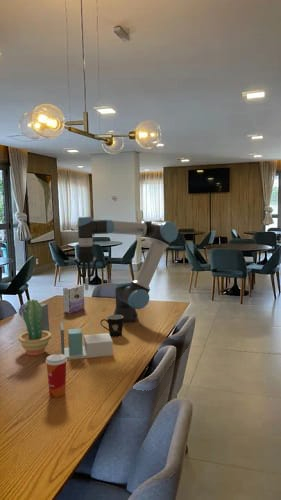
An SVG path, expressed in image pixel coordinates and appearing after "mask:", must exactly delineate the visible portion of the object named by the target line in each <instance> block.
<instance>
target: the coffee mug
mask: <svg viewBox="0 0 281 500" xmlns="http://www.w3.org/2000/svg"><path fill="white" fill-rule="evenodd" d="M123 318H124V317H123V316H122V315H114V314H110V315H108V316H107V319H106V318H104V319H101V320H100V326H102V328H104V329H105V330H107V331H108V333H109V335H110V337H111V338H120V337H122V336H121V335H123V327H124V323H123ZM103 321H105V322H106V323H107V325H108V327H106V326H104V325H103V324H102V323H103ZM119 336H120V337H119Z"/></svg>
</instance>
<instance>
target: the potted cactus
mask: <svg viewBox="0 0 281 500" xmlns="http://www.w3.org/2000/svg"><path fill="white" fill-rule="evenodd" d="M40 304H41V303H40V302H39V301H38V300H37V299H32V300H31V299H28V300H27V302H26V303H23V304H22V305H20V307H19V308H18V314H19V316H20V317H21V318H22V319H23V321H24V323H25V326H26V332H23V333H21V334H19V335H18V337H17V339H18V342H20V344H21V346H22V348H23V349H24V350H25V354H26V355H29V356H39V355H42V354H44V353H45V352H46V348H47V346H48V343H49V341H50V339H52V338H51V337H52V333H51V332H50V331H49V332H48V331H42V327H41V320H42V306H41V305H40Z"/></svg>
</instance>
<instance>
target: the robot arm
mask: <svg viewBox="0 0 281 500" xmlns="http://www.w3.org/2000/svg"><path fill="white" fill-rule="evenodd" d="M77 231H78V232H77V234H78V254H77V257H76V258H74V259H73V261H74V263H75V264H76V268H77V271H78V275H79V277H80V278H82V284H83V285H84V291H88V290H89V284H91V277H93V276H94V275H95V271H96V267H97V266H96V265H97V263H98V261H99V258H97V257H95V255H94V247H93V245H94V244H93V243H94V241H93V240H94V237H93V236H94V235H101V234H104V235H107V234H115V235H133V236H140V237H141V238H147V239H150V240H151V244H150V247H149V249H148V250H147V253H146V255H145V257H144V259H143V262H142V264H141V266H140V268H139V271H138V273H137V275H136V277H135V279H134V280H132V281H120V282H117V283H115V287H114V288H115V289H114V290H115V292H114V293H115V309H114V312H113V315H122V316H123V317H124V318H123V324H124V323H126V322H129V323H133V321H134V322H136V321H138V320H139V319H138V318H139V315H138V312H137V310H141V309H144V308H146V306H148V304H149V302H150V294H149V292H150V291H151V289H150V284H151V282H152V280H153V277H154V275H155V273H156V270H157V268H158V266H159V264H160V261H161V260H162V257H163V255H164V252H165V250H166V249H168V248H170V245H171V243H172V242H174V241H176V239H177V238H178V235H179V234H178V233H179V229H178V226H177V225H176V224H175V223H174V222H173V221H168V220H151V221H150V220H149V221H146V220H145V221H143V220H142V221H141V222H139V221H138V222H134V221H119V220H112V219H97V218H96V219H95V218H93V216H79V217H78V219H77ZM79 261H80V263H81V264H82V271H81V267H80V264H79ZM92 261H93V262H92ZM91 263H92V268H91ZM86 264H87V265H86ZM86 267H87V268H86ZM86 269H87V271H86ZM86 272H87V276H86ZM137 319H138V320H137ZM126 324H127V323H126Z"/></svg>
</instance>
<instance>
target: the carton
mask: <svg viewBox="0 0 281 500" xmlns="http://www.w3.org/2000/svg"><path fill="white" fill-rule="evenodd" d="M67 335H68V340H67V341H68V348H69V355H77V354H83V347H82V346H83V331H82V328H81V327H80V328H68V329H67Z"/></svg>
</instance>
